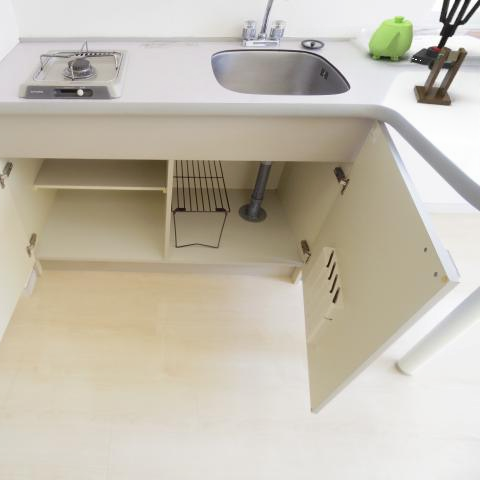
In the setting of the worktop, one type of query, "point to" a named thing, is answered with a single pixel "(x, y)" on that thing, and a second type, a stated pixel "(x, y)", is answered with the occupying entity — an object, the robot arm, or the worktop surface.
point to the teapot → (392, 38)
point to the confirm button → (437, 48)
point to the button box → (428, 56)
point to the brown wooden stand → (440, 93)
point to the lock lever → (450, 59)
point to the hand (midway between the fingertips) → (440, 46)
